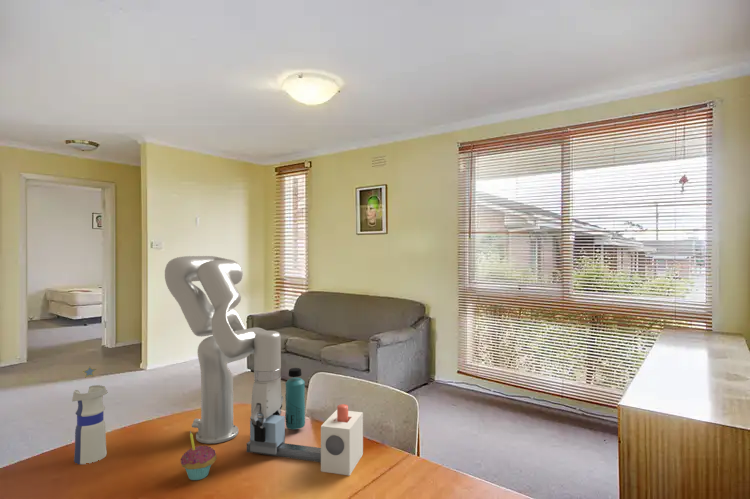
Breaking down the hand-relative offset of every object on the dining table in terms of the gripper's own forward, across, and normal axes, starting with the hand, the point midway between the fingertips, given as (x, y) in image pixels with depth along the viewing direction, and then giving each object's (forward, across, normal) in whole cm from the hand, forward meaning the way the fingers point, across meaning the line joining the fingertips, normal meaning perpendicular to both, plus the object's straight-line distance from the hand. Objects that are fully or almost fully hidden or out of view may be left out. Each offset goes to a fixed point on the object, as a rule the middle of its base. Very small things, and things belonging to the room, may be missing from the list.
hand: (267, 434), depth 124 cm
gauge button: (-3, 0, +23) cm, 23 cm away
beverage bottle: (+5, -16, +1) cm, 17 cm away
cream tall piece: (+5, +16, -47) cm, 50 cm away
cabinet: (+5, 0, +23) cm, 23 cm away
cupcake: (+5, +16, -11) cm, 20 cm away
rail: (+5, 0, +6) cm, 8 cm away
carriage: (+4, 0, 0) cm, 4 cm away
